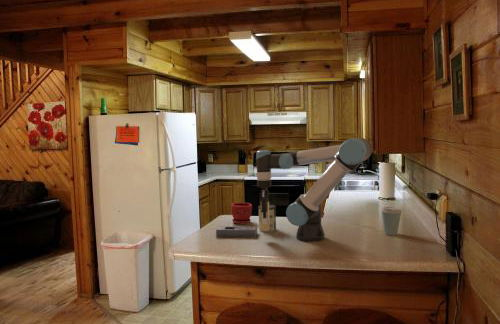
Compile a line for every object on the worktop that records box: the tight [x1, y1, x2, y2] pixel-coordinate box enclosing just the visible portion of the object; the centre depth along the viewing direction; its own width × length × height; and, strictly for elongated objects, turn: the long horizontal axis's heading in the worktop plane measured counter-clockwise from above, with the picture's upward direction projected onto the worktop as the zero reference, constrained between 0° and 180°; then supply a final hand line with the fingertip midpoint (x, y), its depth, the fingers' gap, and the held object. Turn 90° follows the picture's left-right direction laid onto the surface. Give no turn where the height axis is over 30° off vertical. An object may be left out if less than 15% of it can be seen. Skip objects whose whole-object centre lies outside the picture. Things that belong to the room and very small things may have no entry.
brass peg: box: [261, 200, 270, 232], centre depth 226 cm, size 4×4×15 cm
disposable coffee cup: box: [380, 206, 402, 237], centre depth 232 cm, size 11×11×15 cm
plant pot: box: [230, 202, 253, 225], centre depth 269 cm, size 13×13×12 cm
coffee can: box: [257, 204, 277, 233], centre depth 249 cm, size 10×10×14 cm
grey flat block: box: [215, 225, 258, 238], centre depth 238 cm, size 22×8×4 cm, turn 82°
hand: (265, 222), depth 226 cm, fingers closed on brass peg, 4 cm apart
